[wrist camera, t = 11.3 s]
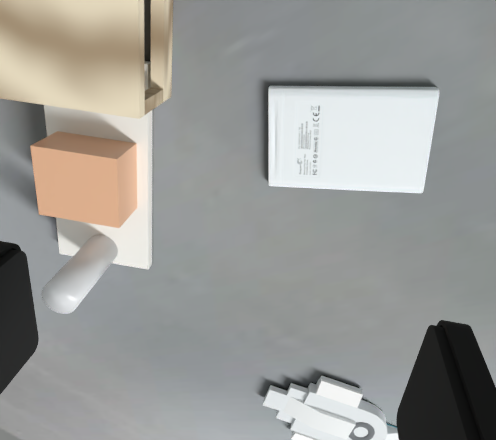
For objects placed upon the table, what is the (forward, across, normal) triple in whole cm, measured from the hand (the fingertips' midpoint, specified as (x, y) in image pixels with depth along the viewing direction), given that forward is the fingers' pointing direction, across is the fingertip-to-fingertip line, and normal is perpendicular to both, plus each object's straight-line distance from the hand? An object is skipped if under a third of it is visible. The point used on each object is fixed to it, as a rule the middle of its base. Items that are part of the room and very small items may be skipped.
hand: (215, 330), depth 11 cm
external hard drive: (+29, -4, +3) cm, 30 cm away
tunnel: (+28, +16, -3) cm, 33 cm away
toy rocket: (+29, -10, +34) cm, 46 cm away
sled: (+28, +16, +9) cm, 34 cm away
